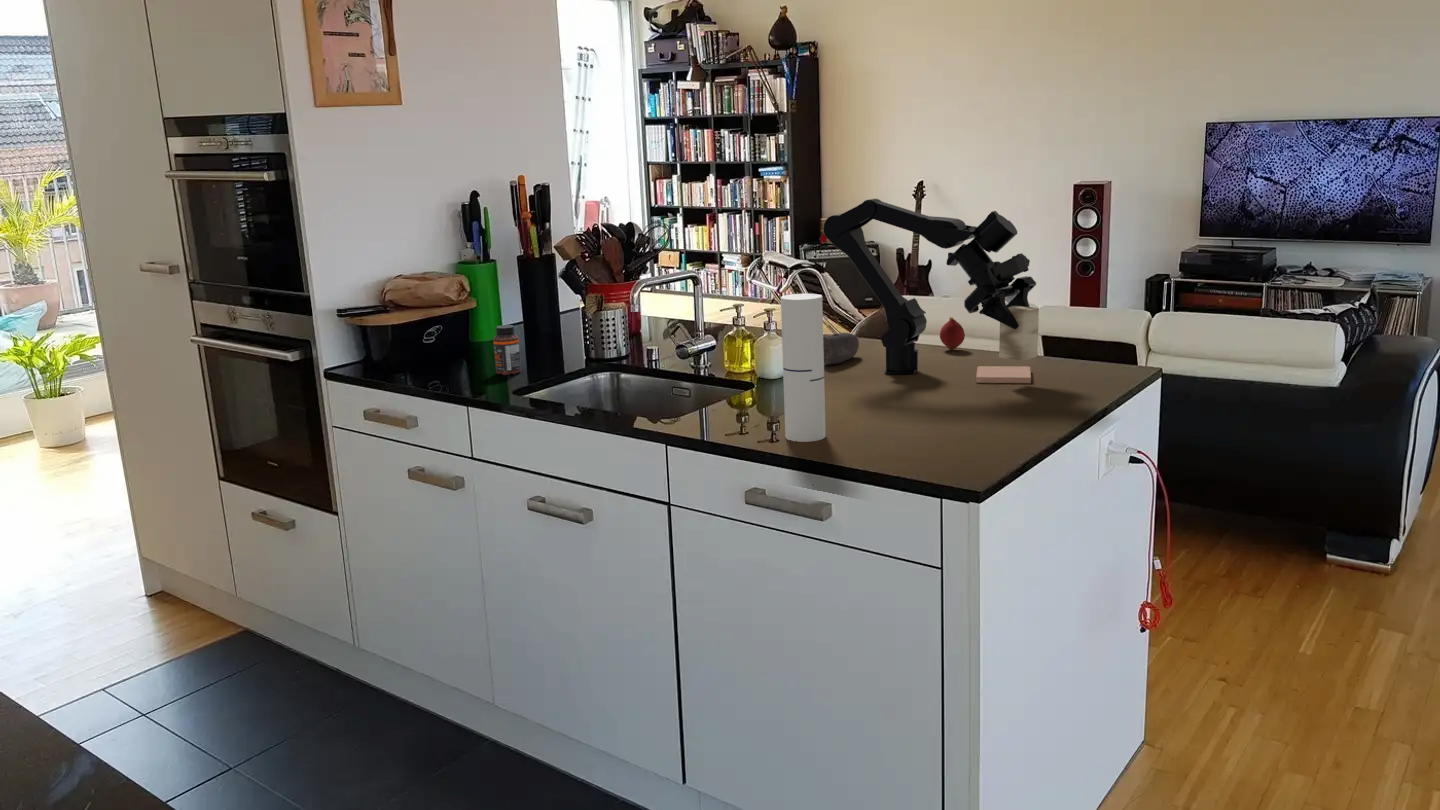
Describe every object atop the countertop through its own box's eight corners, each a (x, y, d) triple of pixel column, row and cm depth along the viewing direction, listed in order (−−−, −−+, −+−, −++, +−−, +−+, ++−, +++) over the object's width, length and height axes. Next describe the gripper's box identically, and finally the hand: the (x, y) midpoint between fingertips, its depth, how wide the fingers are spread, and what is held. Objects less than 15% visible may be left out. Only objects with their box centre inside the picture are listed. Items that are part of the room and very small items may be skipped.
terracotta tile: (976, 382, 234) (976, 377, 234) (977, 371, 245) (977, 366, 244) (1030, 383, 232) (1030, 377, 231) (1029, 371, 242) (1029, 366, 242)
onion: (963, 347, 272) (963, 314, 270) (965, 352, 266) (966, 318, 264) (938, 348, 272) (938, 315, 270) (940, 352, 267) (941, 319, 265)
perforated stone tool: (849, 355, 269) (848, 326, 268) (867, 357, 266) (867, 328, 264) (812, 366, 258) (812, 336, 257) (831, 368, 255) (831, 338, 253)
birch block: (999, 357, 231) (1000, 309, 228) (1013, 353, 234) (1015, 305, 232) (1022, 360, 227) (1024, 311, 224) (1037, 356, 230) (1038, 308, 228)
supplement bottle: (491, 373, 267) (487, 326, 264) (513, 369, 271) (508, 323, 268) (504, 376, 263) (500, 329, 260) (526, 372, 267) (522, 325, 264)
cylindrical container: (782, 432, 203) (778, 295, 197) (821, 430, 203) (818, 292, 197) (788, 443, 196) (783, 300, 190) (828, 440, 196) (825, 298, 190)
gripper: (977, 246, 221) (1025, 306, 216) (1029, 237, 234) (1075, 294, 229) (944, 282, 229) (989, 342, 224) (996, 272, 241) (1039, 328, 236)
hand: (1025, 325), depth 228 cm, fingers closed on birch block, 5 cm apart
